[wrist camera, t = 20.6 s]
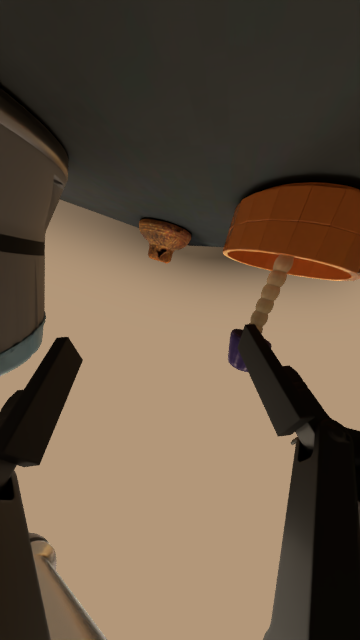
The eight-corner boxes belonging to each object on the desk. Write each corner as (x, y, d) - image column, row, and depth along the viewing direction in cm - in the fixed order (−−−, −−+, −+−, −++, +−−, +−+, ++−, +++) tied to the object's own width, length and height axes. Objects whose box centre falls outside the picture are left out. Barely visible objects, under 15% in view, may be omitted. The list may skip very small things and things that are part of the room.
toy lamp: (266, 222, 19) (220, 352, 23) (284, 205, 14) (223, 370, 19) (310, 231, 18) (254, 362, 23) (343, 217, 14) (265, 383, 19)
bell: (130, 218, 37) (125, 252, 39) (158, 215, 29) (150, 258, 31) (171, 235, 45) (165, 263, 47) (203, 236, 37) (194, 270, 39)
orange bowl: (238, 223, 23) (226, 260, 25) (237, 166, 12) (216, 240, 13) (339, 240, 20) (320, 281, 22) (466, 185, 9) (407, 278, 10)
